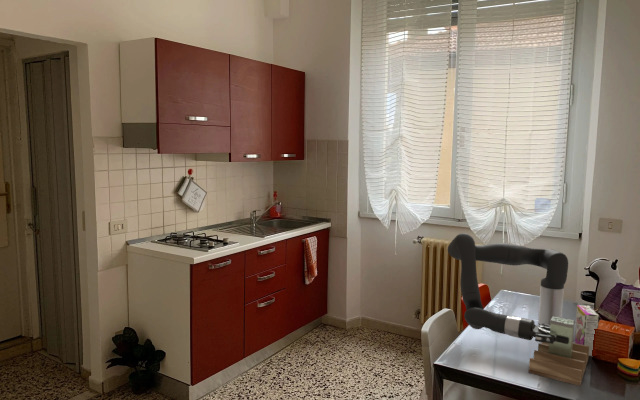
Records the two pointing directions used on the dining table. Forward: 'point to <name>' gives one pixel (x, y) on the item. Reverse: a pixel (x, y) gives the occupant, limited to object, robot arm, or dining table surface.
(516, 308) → the dining table surface
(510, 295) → the dining table surface
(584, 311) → the candy bar box
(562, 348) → the tea tin
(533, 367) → the plate rack
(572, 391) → the dining table surface
